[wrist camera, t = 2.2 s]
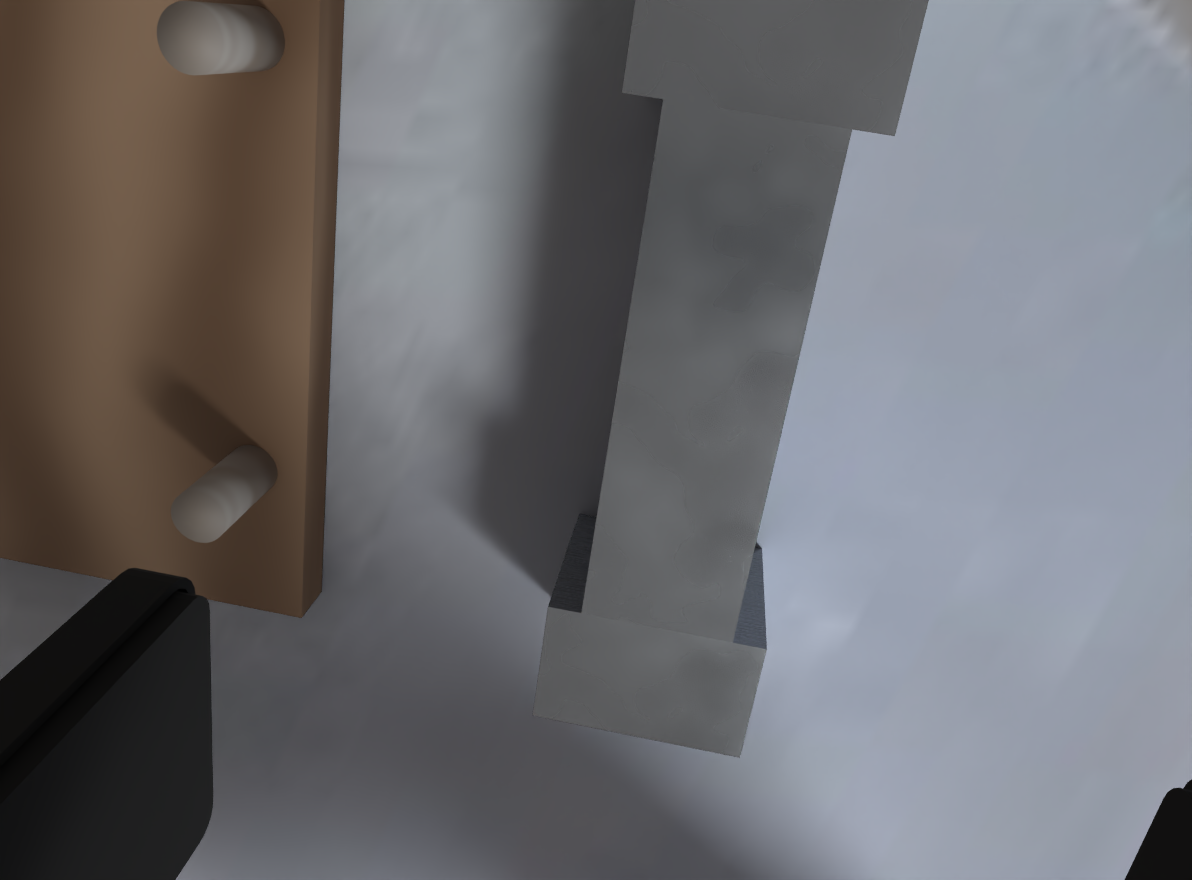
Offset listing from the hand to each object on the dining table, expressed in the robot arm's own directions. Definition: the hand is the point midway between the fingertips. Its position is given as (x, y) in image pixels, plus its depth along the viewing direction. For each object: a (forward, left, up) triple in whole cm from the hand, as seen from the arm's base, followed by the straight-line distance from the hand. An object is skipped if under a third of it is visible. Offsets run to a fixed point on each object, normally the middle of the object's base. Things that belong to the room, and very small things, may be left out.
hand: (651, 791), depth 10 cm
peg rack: (+18, 0, -17) cm, 25 cm away
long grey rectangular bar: (0, 0, -17) cm, 17 cm away
